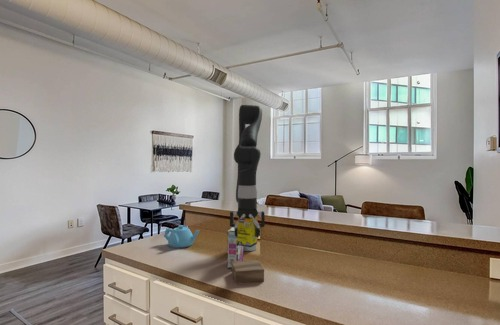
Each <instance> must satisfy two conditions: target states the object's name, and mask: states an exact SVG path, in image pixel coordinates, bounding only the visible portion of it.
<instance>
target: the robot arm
mask: <svg viewBox="0 0 500 325" xmlns="http://www.w3.org/2000/svg"><path fill="white" fill-rule="evenodd" d="M262 118H263V109H262V107H261V106H260V105H256V104H255V105H253V104H251V105H250V104H241V105H240V107H239V109H238V144H237V145H236V148H235V149H234V153H233V160H234V161H235V163H236V164H237V176H236V177H237V180H236V188H235V189H236V190H235V200H236V203H237V210H236V211H233V210H231V211H230V213H229V227H230V228H232V227H234V228H235V236H236V238H238V223H239V220H238V219H237V221H236V223H234V220H235V219H234V218H235V217H236V216H238V217H237V218H240V219H241V218H251V219H253V223H254V224H255V225H256V227H257V239H258V238H259V237H261V228H264V227H265V222H266V221H265V217H266V216H265V211H264V210H261V211H258V206H257V205H258V202H257V200H258V190H257V172H258V166H259V163H260V159H261V155H262V154H261V150H260V148H259V147H257V145H258V135H259V131H260V128H261V124H262V120H263V119H262ZM246 125H248V126H246ZM258 216H259V217H260V218H261V223H259V222H258V219H257V220H255V218H256V217H258ZM255 250H257V244H256V245H254V246H252V247H246V246H243V252H253V251H255Z"/></svg>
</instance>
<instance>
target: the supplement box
mask: <svg viewBox="0 0 500 325" xmlns="http://www.w3.org/2000/svg"><path fill="white" fill-rule="evenodd" d="M238 220H239V223H238V245H239V246H246V247H252V246H254V245H256V246H257V244H258V238H257V227H256V225H255V224H254V223H253V219H251V218H241V219H240V218H239V217H237V221H238ZM255 220H257V221H258V216H256V218H255Z"/></svg>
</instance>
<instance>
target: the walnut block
mask: <svg viewBox="0 0 500 325" xmlns="http://www.w3.org/2000/svg"><path fill="white" fill-rule="evenodd" d="M231 275H232V277H233V280H234V283H235V285H240V284H239V283H243V284H252V283H264V282H265V269H264V267H263V266H262V264H261V263H260V261H259V260H258V259H254V260H243V261H236V262H232V268H231Z"/></svg>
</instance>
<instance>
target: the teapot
mask: <svg viewBox="0 0 500 325" xmlns="http://www.w3.org/2000/svg"><path fill="white" fill-rule="evenodd" d="M199 232H200V229H196V230H195V232H194V233H192V231H191V229H190V228H189V227H188V225H182V224H181V225H180V224H179V225H178V227H175V228H170V227H167V228H166V229H165V232H164V234H163V237H164V238H165V240H167V243H168V245H169V246H170V247H171V248H174V249H175V248H176V249H182V248H188V247H190V246H192V245H193V244H194V241H195V240H196V238H197V236H198V234H199Z"/></svg>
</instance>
